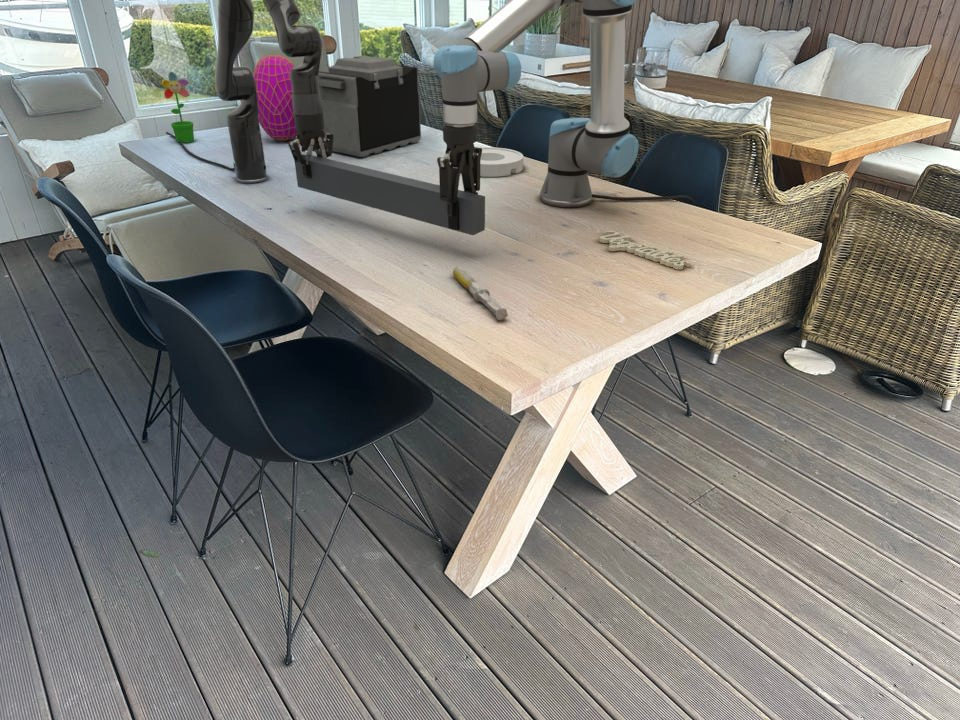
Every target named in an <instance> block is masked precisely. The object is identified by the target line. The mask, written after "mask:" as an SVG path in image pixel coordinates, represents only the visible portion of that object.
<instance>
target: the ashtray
mask: <svg viewBox="0 0 960 720" xmlns="http://www.w3.org/2000/svg"><path fill="white" fill-rule="evenodd" d="M478 148H482V154H481V160H480V177H483V178H490V177H491V178H498V177H507V176H511V174H519V173H520V172H522V171H523V169H524V159H525V158H524V155H523V153H522V152H520V151H517V150H514V149H510V148H505V147H504V148H503V147H493V146H492V147H491V146H486V147H485V146H484V147H483V146H481V147H480V146H479V147H478ZM454 168H457V167H454Z"/></svg>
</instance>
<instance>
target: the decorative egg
mask: <svg viewBox="0 0 960 720" xmlns="http://www.w3.org/2000/svg"><path fill="white" fill-rule="evenodd" d="M295 67H296V66H295V65H294V63H293V62H292V61H291V60H290V59H288V58H287V57H285V56H282V55H280V54H268V55H265V56H262V57H261V58H260V59H259V60H258V61H257V62H256V65H255V68H254V69H253V70H254V71H252V73H253V75H254V78H255V83H256V91H257V102H258V110H259V125H260V128H262V130H263V131H264V133H266V135H267V136H268V137H270V138H271V139H273V140H275V141H282V142H286V141H291V140H293V139H296V138H297V134H298V133H297V130H296V128H295V121H294V113H293V105H292V88H291V80H290V71H291V69H293V68H295Z"/></svg>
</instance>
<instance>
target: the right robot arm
mask: <svg viewBox="0 0 960 720" xmlns="http://www.w3.org/2000/svg"><path fill="white" fill-rule="evenodd" d="M636 2H637V0H508V1H507V2H506V3H505V4H504V5H502V6H501V7H500V8H499V9H497V10H496V11H495V12H494V13H492V14H491V15H490V16H489V17H488V18H487V19H486V20H484V21H483V22H482V23H480V24H479V25H478V26H477V27H476V28H474V29H473V30H472V31H471V32H469V33H468V34H467V35H466V36H465V37H463V39H461V40H459V42H457V43H456V44H454V45H453V44H452V45H451V44H449V45H443V46H440V47H439V48H438V49H437V51H436V52H435V54H434V56H433V62H432V64H433V70H434V72H435V74H436V75H437V77H439V78H440V79H441V94H442V99H441V100H442V122H443V123H444V124H443V125H442V140H443V142H444V143H445V144H446V149H445V151H444V153H445V154H444V155H443V156H442V157H441V156H438V157H437V158H436V162H437V165H438V174H439V175H438V176H439V185H440V200H442V201H446V202H447V215H448V228H451V229H455V230H459V202H456V201H457V194H458V190H459V186H460V185H459V184H460V179H462V180H461V181H462V186H463V191H465V192H469V193H474V194H478V195H479V191H481V176H480V160H481V154H482V148H479V147H477V146H475V143H476V142H477V141H478V125H477V122H478V93H482V92H491V91H497V90H506V89H510V88H513V87H515V86H517V84H518V83H519V82H520V80H521V77H522V63H521V61H520V58H519V57H518V56H517V54H516V53H514V52H513V51H503V50H504V49H505V48H506V47H507V46H509V45H510V44H511V43H512V42H513V41H515V40H516V39H517V38H518V37H520V36H521V35H522V34H523V33H524V32H525V31H527V29H529V28H531V26H533V25H534V24H535V23H536V22H537V21H538V20H540V19H542V17H543V16H544V15H545V14H547V13H548V12H555V11H557V10H558V9H559V8H561V7H562V6H563V5H566V4H570V3H571V4H572V3H582V16H584V18H586V19H587V21H588V22H589V62H590V63H589V72H590V73H589V77H590V79H589V80H590V118H589V117H570V118H568V117H567V118H562V119H556V120H554V121H553V122H552V123H551V125H550V129H549V130H550V131H549V135H548V156H547V158H548V159H547V173H546V176H545V178H544V181H543V184H542V187H541V189H540V192H539V200H540V202H542V203H543V204H546V205H549V206H553V207H558V208H559V207H560V208H580V207H584V206H588V205H589V204H591V203H592V199H602V200H609V201H622V202H623V201H624V202H625V201H626V202H627V201H629V202H630V201H632V202H633V201H673V200H687V201H689V202H690V203H691V204H696V201H695V200H694V199H693V198H692V197H690V196H689V195H684V194H681V195H672V196H671V195H670V196H610V195H604V194H594V193H592V188H591V184H590V179H589V172H591V173H595V174H597V175H602V176H603V177H610V178H620V177H622V176H624V175H626V174H627V173H628V172H629V171H630V170H631V168H632V167H633V165H634V164H635V162H636V159H637V157H638V154H639V140H638V139H637V137H636V136H635V135H633V134H632V133H630V130H631V128H630V127H631V125H630V124H631V123H630V121H629V120H628V119H627V118H626V117H625V71H626V70H625V68H626V67H625V66H626V65H625V64H626V19H627V17H628V16H629V15H630V13H631V12H632V10H633V4H635V3H636ZM455 167H457V168H455ZM448 228H447V229H448ZM451 229H450V230H451ZM455 230H454V231H455Z"/></svg>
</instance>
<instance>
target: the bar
mask: <svg viewBox="0 0 960 720" xmlns="http://www.w3.org/2000/svg"><path fill="white" fill-rule="evenodd" d="M305 158H306V156H305ZM309 165H310V167H311V175H312V178H310V179H308V178H305V177H304V176H303V170H302V164H300V163H296V162H295V161H294V167H295V168H294V169H295V175H296V182H297V183H296V184H297V188H300V189H304V190H308V191H311V192H314V193H319V194H322V195H326V196H330V197H332V198H337V199H339V200H344V201H347V202H350V203H351V202H352V203H355V204H358V205H362V206H365V207H369V208H373V209H376V210H380V211H384V212H387V213H390V214H394V215H397V216H401V217H405V218H409V219H411V220H412V219H413V220H414V221H415V220H416V221H419V222H423V223H426V224H430V225H433V226H437V227H441V228H444V229H448V230H452V231H456V232H458V233H462V234H466V235H470V236H476V235H478V234H480V233H482V232H485V231H486V196H485V195H482V194H479V193H478V194H474V193H469V192H465V191H464V190H460V189H458V194H457V201H456V202H459V230H455V229H451V228H448V215H447V202H446V201H442V200H440V184H435V183H432V182H427V181H423V180H419V179H414V178H410V177H407V176H402V175H397V174H393V173H390V172H385V171H381V170H376V169H372V168H368V167H365V166H360V165H357V164H356V165H355V164H351V163H348V162H343V161H338V160H335V159H331V158H322V157H318V156H317V155H313V154H312V156H311V157H310V163H309Z"/></svg>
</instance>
